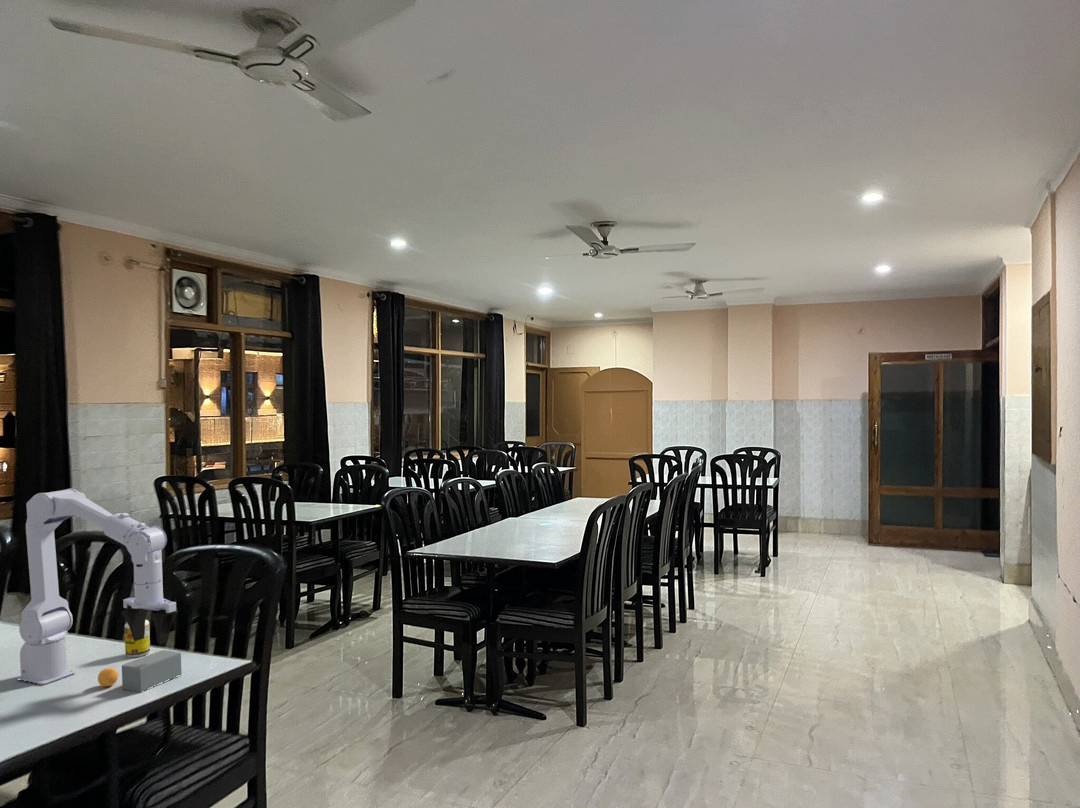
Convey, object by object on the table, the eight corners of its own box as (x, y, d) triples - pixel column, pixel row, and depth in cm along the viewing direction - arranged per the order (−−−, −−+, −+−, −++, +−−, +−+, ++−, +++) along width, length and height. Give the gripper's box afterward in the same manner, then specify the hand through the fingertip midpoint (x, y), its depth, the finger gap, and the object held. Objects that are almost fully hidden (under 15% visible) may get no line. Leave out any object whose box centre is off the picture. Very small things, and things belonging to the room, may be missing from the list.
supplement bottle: (120, 656, 194) (119, 616, 194) (141, 649, 199) (140, 610, 199) (134, 659, 191) (132, 618, 191) (155, 652, 196) (153, 612, 196)
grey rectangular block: (122, 689, 171) (121, 665, 171) (163, 672, 181) (162, 649, 181) (141, 692, 169) (140, 668, 169) (181, 675, 178) (180, 652, 178)
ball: (94, 688, 172) (93, 670, 172) (110, 681, 176) (109, 664, 176) (106, 690, 171) (105, 672, 171) (122, 683, 174) (121, 666, 174)
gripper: (110, 583, 174) (112, 643, 174) (156, 588, 168) (158, 649, 168) (137, 576, 180) (140, 634, 180) (182, 580, 174) (185, 640, 174)
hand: (150, 641), depth 175 cm, fingers open, 7 cm apart
